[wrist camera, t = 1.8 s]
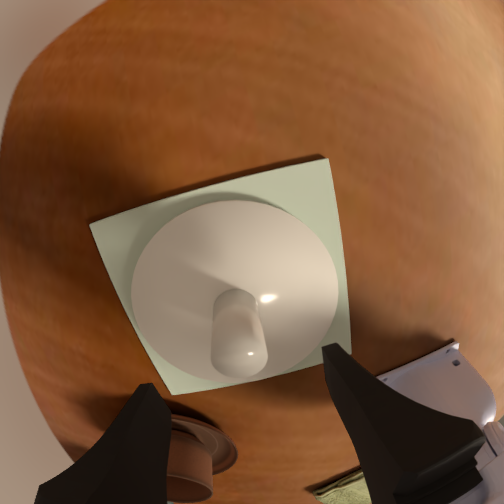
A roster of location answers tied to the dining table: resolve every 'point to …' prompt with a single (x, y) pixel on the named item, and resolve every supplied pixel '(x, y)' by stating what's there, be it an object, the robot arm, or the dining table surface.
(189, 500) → the cup and saucer
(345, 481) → the washcloth
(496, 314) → the dining table surface
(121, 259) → the plate
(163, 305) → the lid
